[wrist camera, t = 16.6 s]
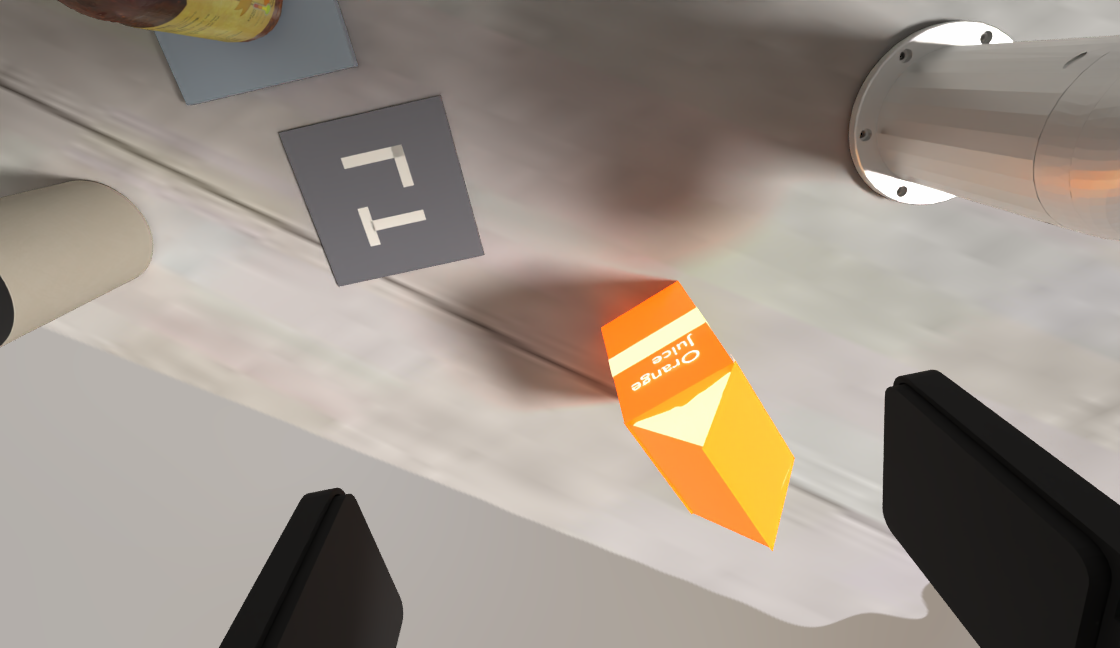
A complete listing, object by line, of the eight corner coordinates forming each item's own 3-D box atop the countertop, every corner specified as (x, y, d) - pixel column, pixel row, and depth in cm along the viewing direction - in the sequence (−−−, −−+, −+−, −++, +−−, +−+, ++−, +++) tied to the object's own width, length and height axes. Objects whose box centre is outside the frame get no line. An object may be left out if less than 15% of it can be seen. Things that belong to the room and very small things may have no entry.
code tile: (440, 95, 41) (440, 95, 41) (484, 254, 46) (484, 255, 45) (279, 132, 42) (278, 132, 41) (339, 285, 46) (338, 286, 46)
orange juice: (650, 401, 52) (713, 582, 33) (598, 327, 49) (636, 481, 30) (728, 357, 50) (837, 521, 32) (679, 278, 47) (770, 409, 29)
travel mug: (56, 158, 42) (-258, 215, 25) (168, 213, 44) (-56, 299, 27) (33, 251, 44) (-265, 356, 28) (140, 299, 46) (-80, 424, 30)
